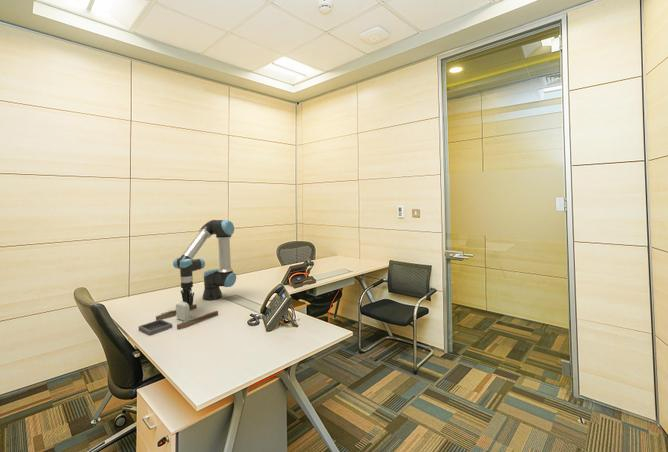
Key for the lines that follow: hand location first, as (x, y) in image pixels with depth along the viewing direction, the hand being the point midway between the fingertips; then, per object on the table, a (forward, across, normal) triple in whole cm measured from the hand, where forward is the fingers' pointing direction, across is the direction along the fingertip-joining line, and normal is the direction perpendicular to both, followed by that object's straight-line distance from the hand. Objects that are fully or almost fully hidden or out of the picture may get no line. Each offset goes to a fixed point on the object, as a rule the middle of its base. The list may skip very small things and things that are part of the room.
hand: (188, 314), depth 225 cm
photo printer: (+2, 0, -4) cm, 4 cm away
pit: (+2, 0, -23) cm, 23 cm away
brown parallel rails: (+2, 0, -1) cm, 2 cm away
